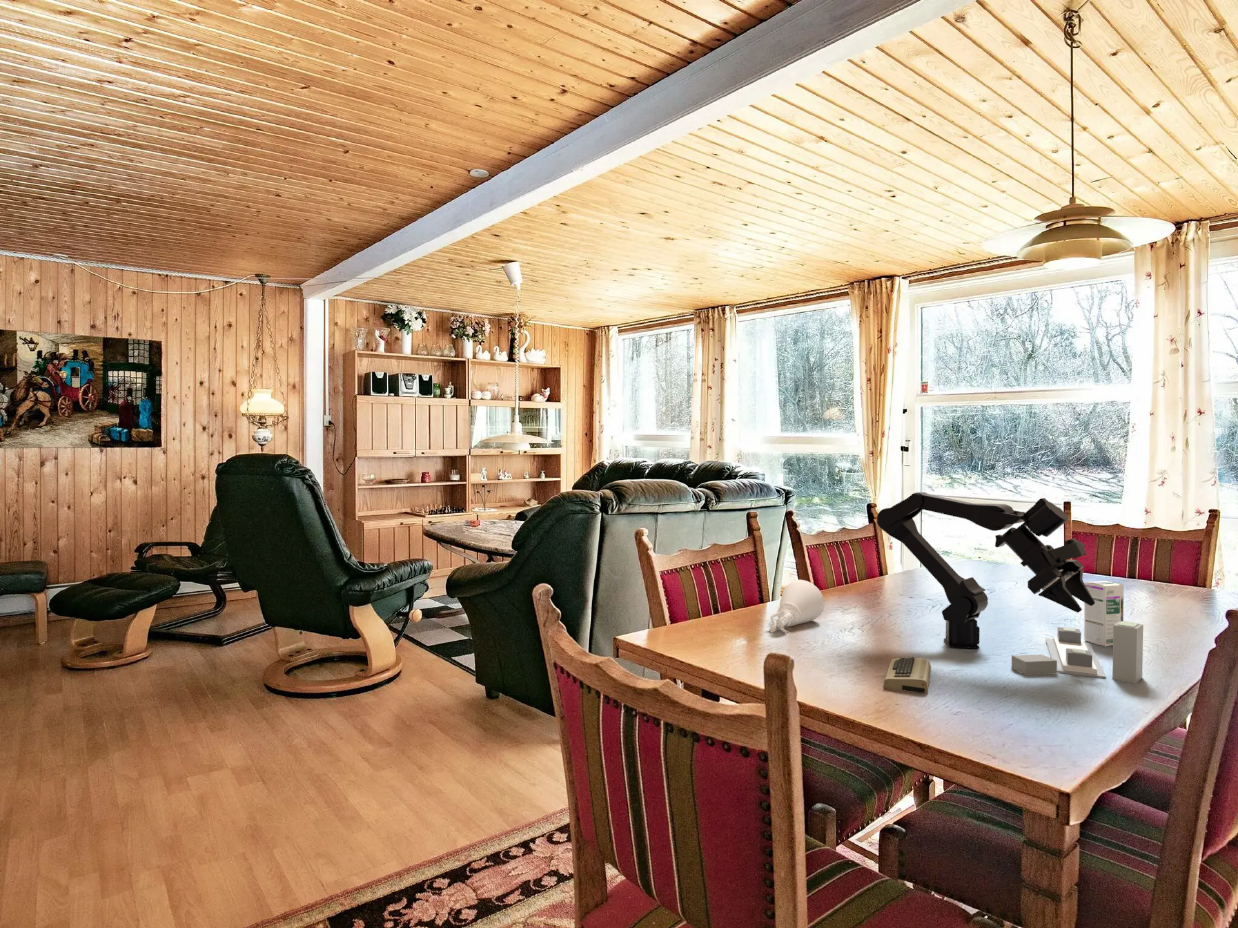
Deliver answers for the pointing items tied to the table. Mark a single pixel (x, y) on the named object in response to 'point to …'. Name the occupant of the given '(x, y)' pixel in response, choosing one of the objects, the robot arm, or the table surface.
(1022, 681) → the table surface
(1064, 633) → the module far
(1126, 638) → the panel
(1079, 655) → the module near
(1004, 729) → the table surface
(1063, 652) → the rail
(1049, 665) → the block
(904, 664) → the computer
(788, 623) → the rocket engine
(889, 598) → the table surface
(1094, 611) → the syrup box
